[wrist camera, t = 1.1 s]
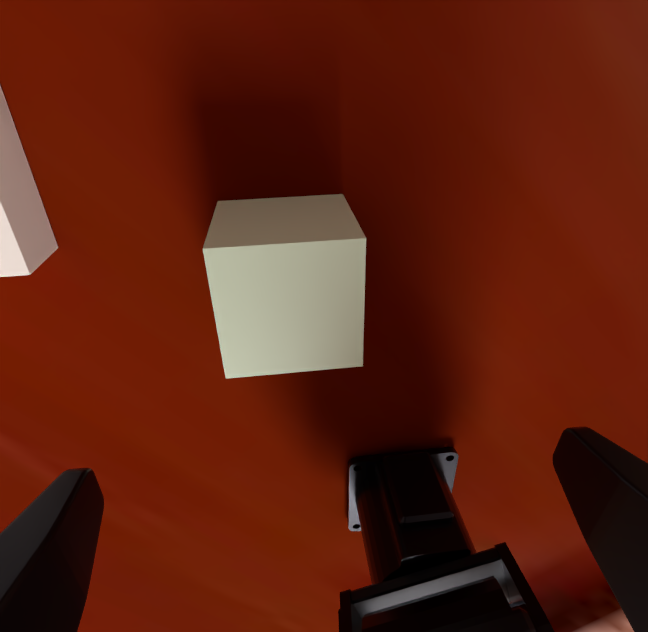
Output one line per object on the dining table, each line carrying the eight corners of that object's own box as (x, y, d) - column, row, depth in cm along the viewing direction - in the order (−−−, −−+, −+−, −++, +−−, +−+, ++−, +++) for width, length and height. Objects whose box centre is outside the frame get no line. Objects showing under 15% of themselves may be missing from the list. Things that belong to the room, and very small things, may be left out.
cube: (342, 300, 21) (362, 366, 16) (234, 309, 20) (225, 378, 16) (342, 193, 18) (366, 238, 14) (217, 200, 18) (202, 248, 13)
